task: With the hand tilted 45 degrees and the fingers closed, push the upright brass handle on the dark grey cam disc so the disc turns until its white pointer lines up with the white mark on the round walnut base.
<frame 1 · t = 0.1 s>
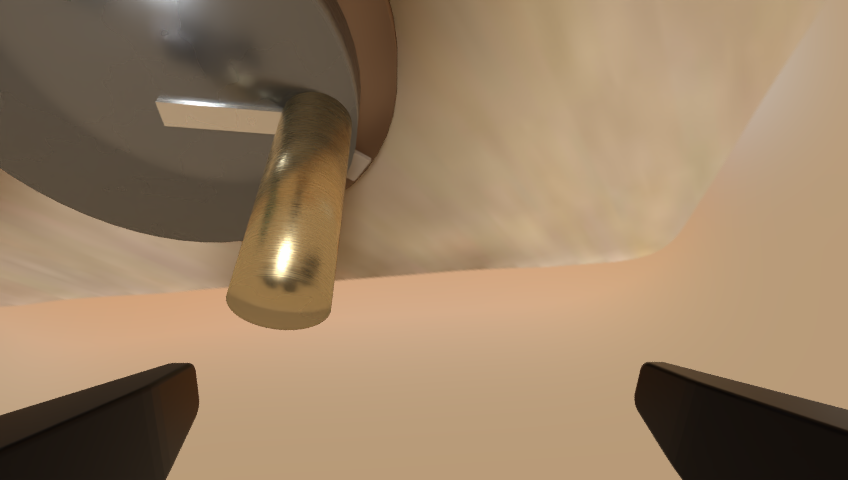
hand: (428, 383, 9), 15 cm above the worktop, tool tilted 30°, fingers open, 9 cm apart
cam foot: (114, 159, 14), point 7 cm above the worktop, hinge at 30.0°
stand base: (184, 52, 18), on the worktop
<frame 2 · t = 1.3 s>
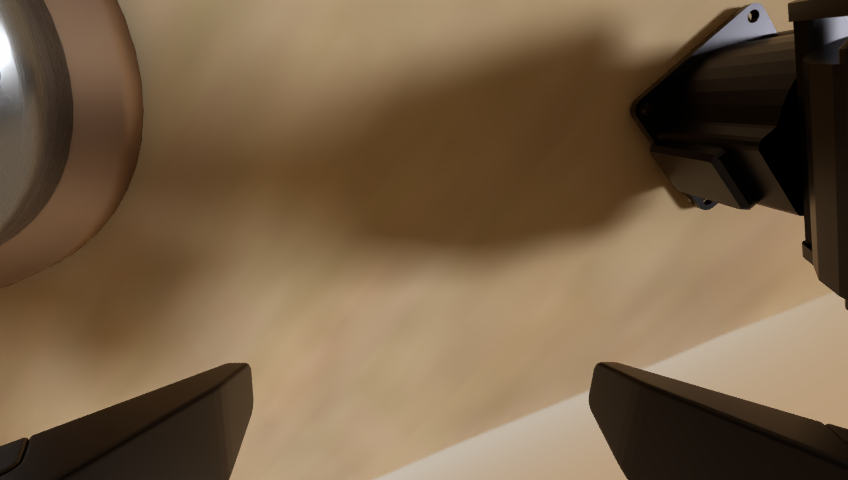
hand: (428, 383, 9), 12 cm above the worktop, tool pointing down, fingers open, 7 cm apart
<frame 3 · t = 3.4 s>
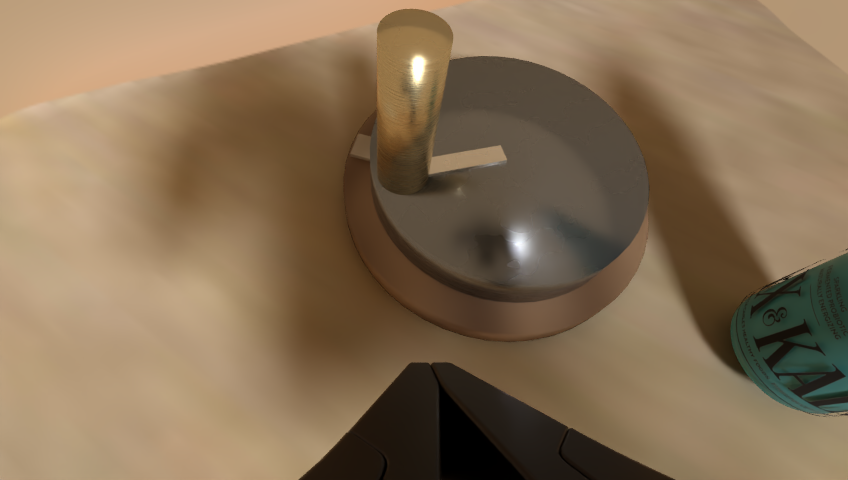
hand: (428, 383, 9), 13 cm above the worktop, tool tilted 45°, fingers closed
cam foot: (527, 116, 21), point 7 cm above the worktop, hinge at 30.0°
stand base: (492, 197, 27), on the worktop
beverage bottle: (761, 359, 24), on the worktop
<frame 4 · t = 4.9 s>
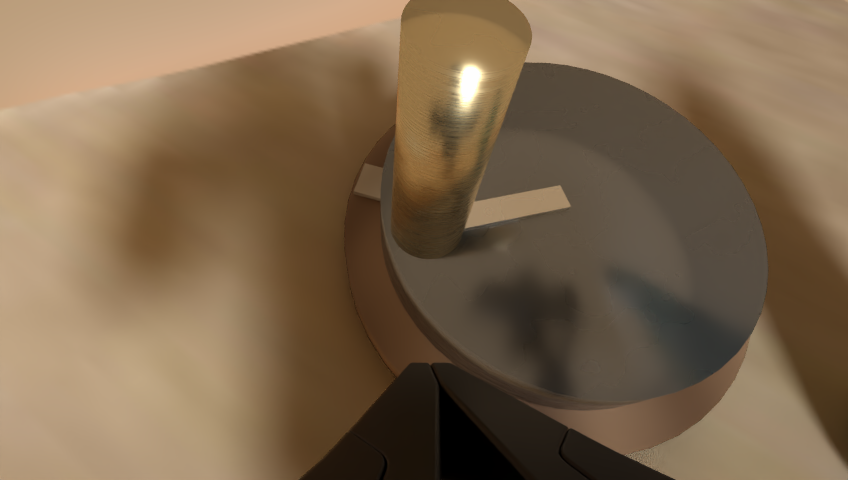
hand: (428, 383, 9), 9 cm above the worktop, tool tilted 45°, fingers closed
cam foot: (608, 150, 14), point 7 cm above the worktop, hinge at 30.0°
stand base: (539, 246, 21), on the worktop
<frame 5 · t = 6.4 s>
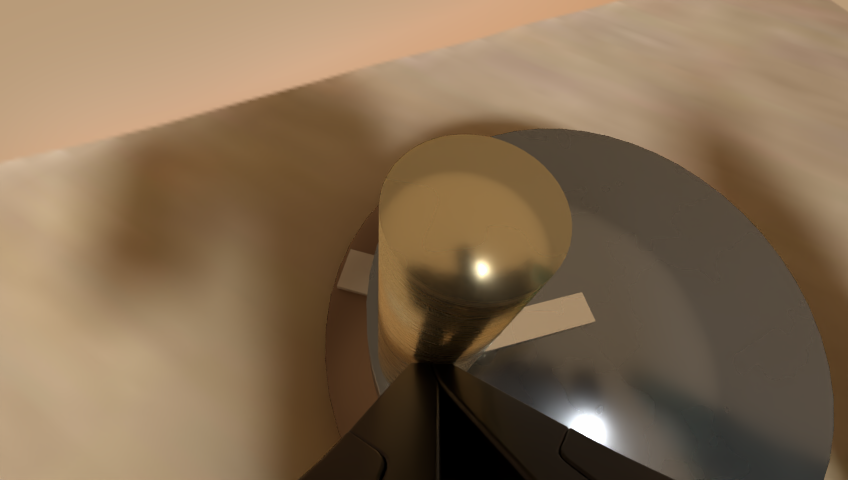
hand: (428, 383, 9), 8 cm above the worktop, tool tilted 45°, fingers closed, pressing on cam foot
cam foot: (646, 270, 12), point 7 cm above the worktop, hinge at 29.8°, touching gripper
stand base: (552, 339, 18), on the worktop
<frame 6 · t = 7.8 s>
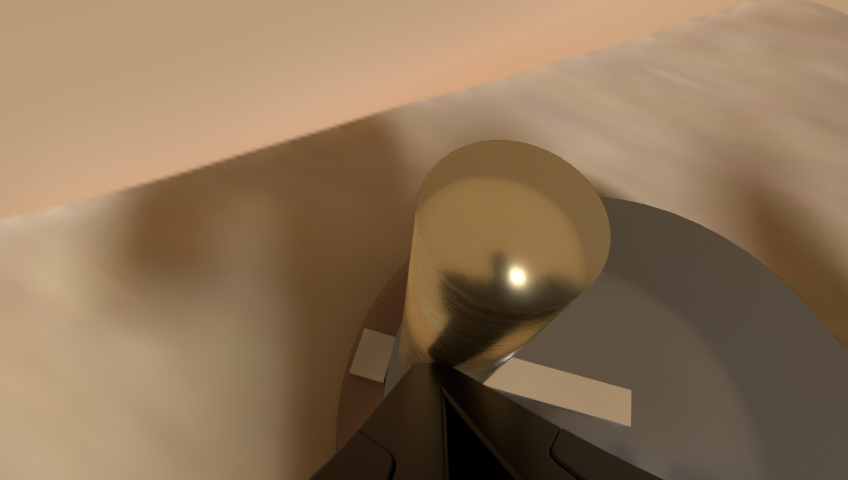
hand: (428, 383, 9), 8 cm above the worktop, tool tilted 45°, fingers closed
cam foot: (707, 399, 10), point 7 cm above the worktop, hinge at 0.7°, touching gripper
stand base: (584, 427, 16), on the worktop
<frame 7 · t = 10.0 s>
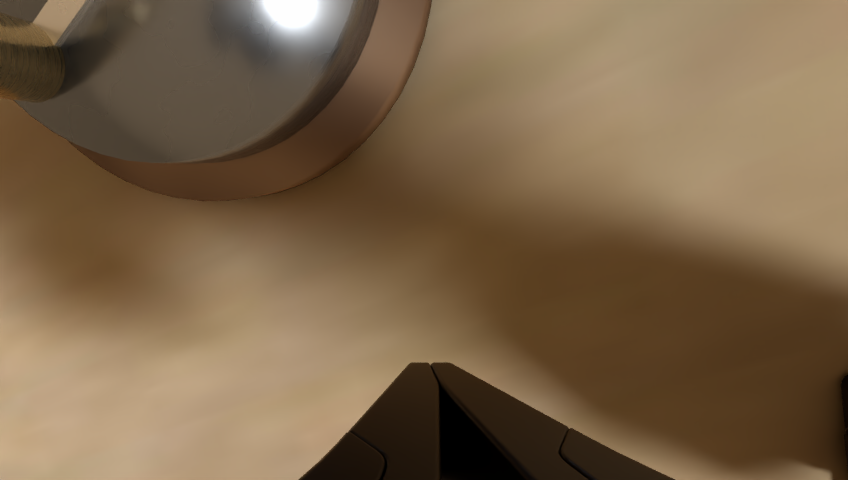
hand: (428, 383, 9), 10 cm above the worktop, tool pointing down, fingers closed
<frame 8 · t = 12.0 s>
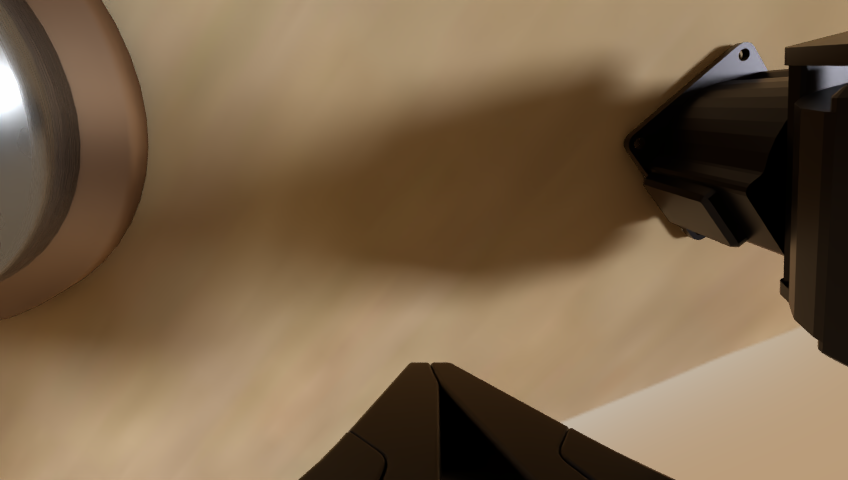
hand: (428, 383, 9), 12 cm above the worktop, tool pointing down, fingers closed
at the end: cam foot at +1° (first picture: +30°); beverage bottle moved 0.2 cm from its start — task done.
